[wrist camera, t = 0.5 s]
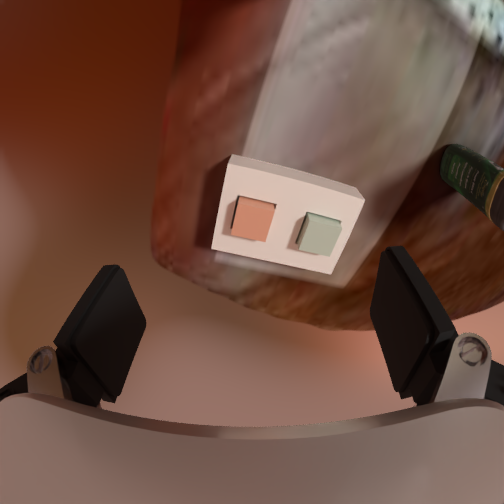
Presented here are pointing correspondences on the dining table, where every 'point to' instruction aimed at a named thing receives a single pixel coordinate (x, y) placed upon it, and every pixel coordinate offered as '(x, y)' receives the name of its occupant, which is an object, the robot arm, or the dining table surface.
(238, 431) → the robot arm
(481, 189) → the coffee jar
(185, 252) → the dining table surface
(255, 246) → the button panel
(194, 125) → the dining table surface
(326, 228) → the sage button
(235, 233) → the terracotta button
